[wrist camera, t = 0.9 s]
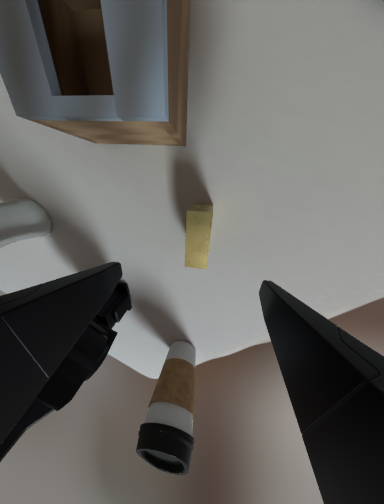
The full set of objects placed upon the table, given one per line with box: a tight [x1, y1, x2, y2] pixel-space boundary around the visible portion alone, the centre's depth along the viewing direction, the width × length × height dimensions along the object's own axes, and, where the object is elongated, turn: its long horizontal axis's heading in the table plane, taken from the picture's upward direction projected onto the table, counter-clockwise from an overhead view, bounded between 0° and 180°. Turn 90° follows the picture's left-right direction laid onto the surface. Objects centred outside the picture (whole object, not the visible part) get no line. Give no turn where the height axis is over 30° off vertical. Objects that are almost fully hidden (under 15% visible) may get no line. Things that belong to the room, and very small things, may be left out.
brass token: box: [185, 203, 213, 269], centre depth 17 cm, size 2×6×6 cm, turn 177°
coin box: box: [0, 0, 190, 146], centre depth 11 cm, size 11×10×8 cm
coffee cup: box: [136, 341, 196, 475], centre depth 26 cm, size 8×8×15 cm
